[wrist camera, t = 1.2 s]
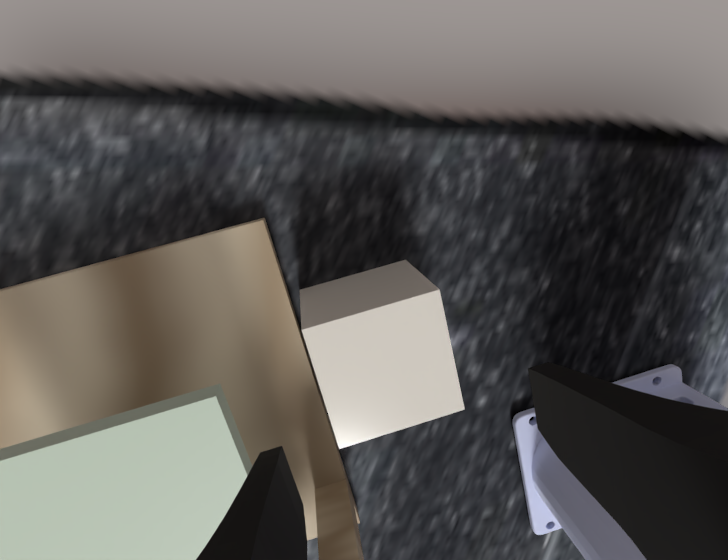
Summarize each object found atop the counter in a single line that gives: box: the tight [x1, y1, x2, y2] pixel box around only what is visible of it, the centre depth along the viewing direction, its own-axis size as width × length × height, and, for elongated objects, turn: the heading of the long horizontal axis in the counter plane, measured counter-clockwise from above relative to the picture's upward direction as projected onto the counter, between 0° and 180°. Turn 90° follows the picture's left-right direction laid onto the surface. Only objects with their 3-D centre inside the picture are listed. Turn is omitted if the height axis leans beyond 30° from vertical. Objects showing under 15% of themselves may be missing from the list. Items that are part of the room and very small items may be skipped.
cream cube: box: [300, 260, 464, 449], centre depth 19 cm, size 5×5×5 cm
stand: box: [0, 218, 364, 560], centre depth 17 cm, size 14×16×8 cm
